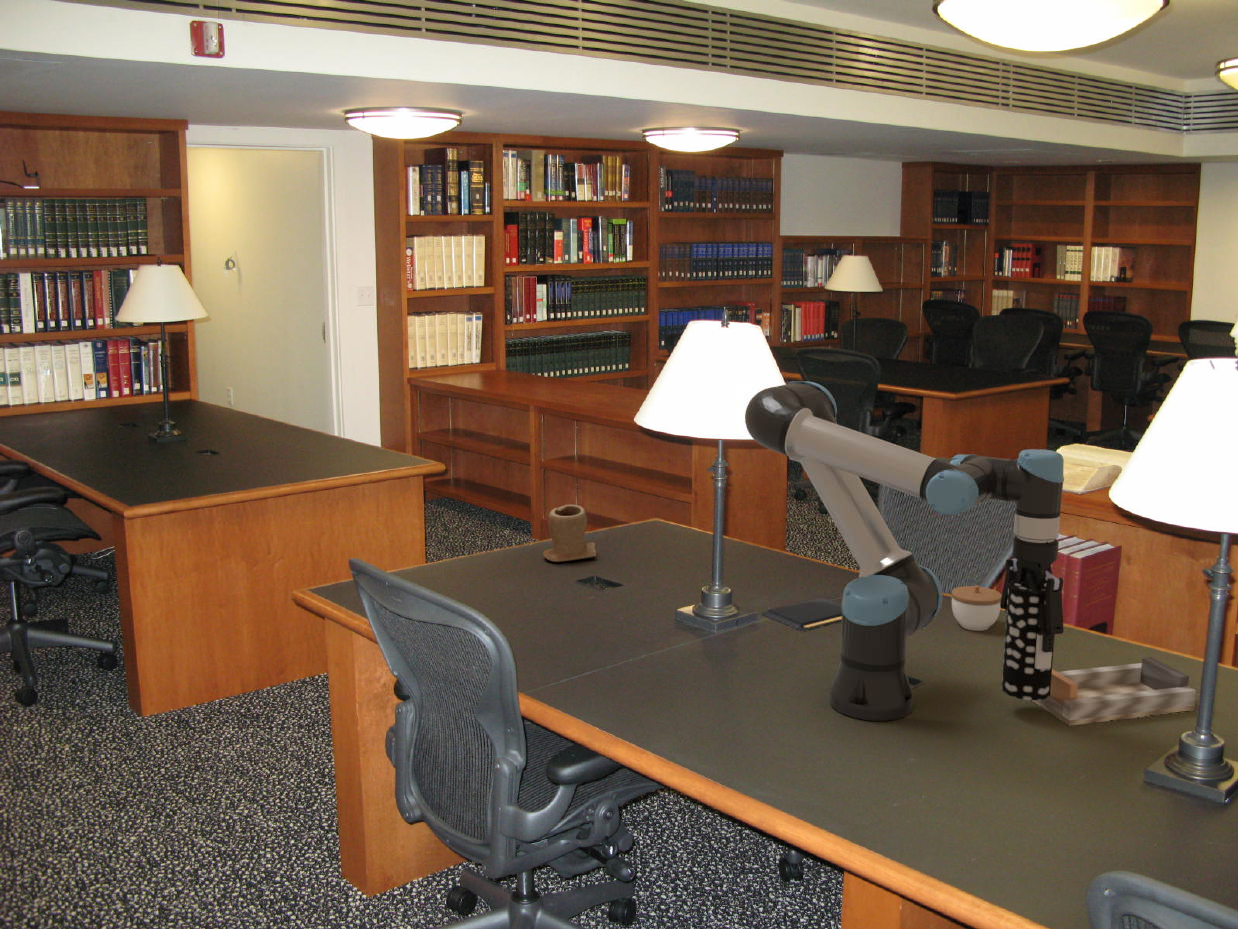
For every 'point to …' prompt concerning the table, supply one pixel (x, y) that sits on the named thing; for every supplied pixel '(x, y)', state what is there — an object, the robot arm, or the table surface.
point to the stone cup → (568, 534)
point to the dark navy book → (807, 614)
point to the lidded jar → (975, 607)
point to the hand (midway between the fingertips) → (1027, 658)
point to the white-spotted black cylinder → (1024, 645)
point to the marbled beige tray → (1123, 693)
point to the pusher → (1062, 687)
